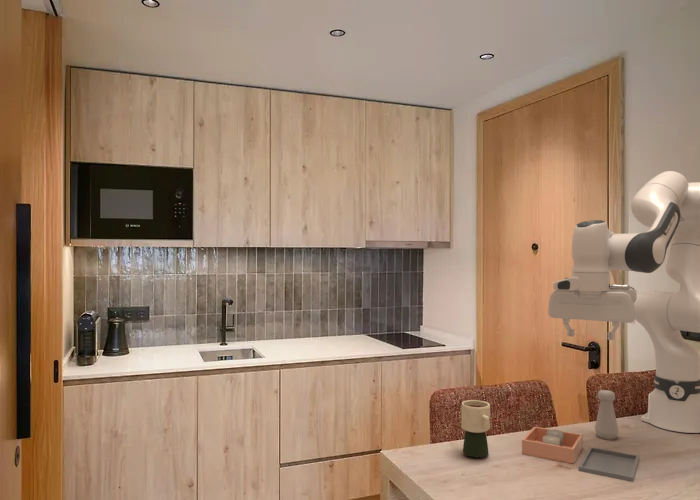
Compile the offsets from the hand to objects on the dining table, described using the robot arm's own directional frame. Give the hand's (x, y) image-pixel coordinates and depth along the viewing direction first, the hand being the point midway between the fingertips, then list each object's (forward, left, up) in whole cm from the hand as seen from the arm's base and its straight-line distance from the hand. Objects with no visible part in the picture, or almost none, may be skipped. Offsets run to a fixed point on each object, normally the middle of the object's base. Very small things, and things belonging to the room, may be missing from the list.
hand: (590, 337), depth 139 cm
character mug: (+18, -24, -29) cm, 42 cm away
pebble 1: (+8, -8, -28) cm, 31 cm away
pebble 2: (+3, -8, -28) cm, 30 cm away
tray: (+8, +5, -29) cm, 31 cm away
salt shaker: (-13, +2, -29) cm, 32 cm away
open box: (+6, -8, -29) cm, 31 cm away
